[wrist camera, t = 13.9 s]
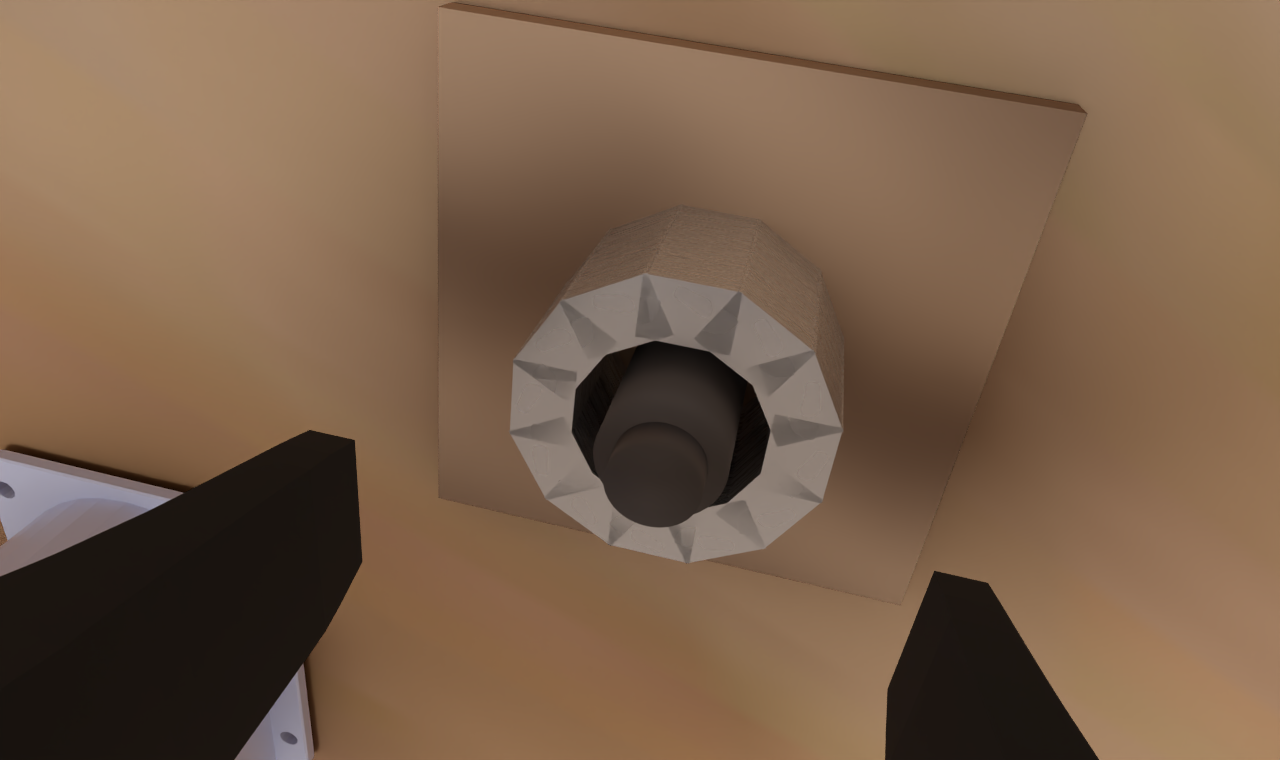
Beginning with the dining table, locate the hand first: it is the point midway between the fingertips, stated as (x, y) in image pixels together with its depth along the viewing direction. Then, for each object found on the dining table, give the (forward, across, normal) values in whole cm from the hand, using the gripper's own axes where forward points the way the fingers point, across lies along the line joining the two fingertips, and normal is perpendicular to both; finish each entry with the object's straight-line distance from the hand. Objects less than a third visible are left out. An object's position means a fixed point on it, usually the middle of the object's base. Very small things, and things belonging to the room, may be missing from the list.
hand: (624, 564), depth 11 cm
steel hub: (+6, 0, 0) cm, 6 cm away
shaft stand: (+7, 0, 0) cm, 7 cm away
